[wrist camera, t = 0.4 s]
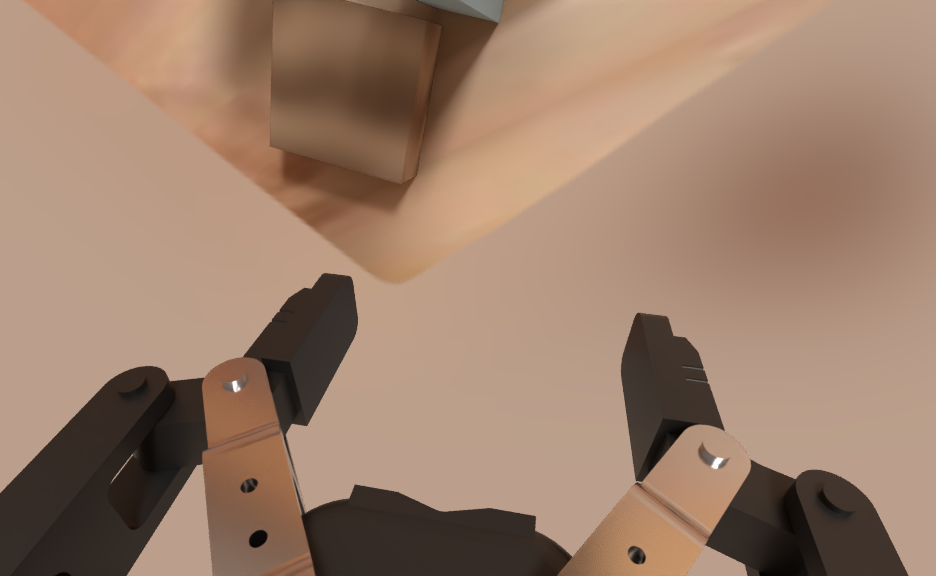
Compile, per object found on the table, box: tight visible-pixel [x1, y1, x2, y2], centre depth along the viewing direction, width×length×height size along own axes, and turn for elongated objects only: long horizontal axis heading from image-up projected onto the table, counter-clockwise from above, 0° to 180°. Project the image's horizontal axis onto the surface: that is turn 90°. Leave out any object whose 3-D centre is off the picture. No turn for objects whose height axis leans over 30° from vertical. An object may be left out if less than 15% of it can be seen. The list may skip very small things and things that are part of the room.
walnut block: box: [270, 0, 442, 184], centre depth 35 cm, size 11×11×4 cm
